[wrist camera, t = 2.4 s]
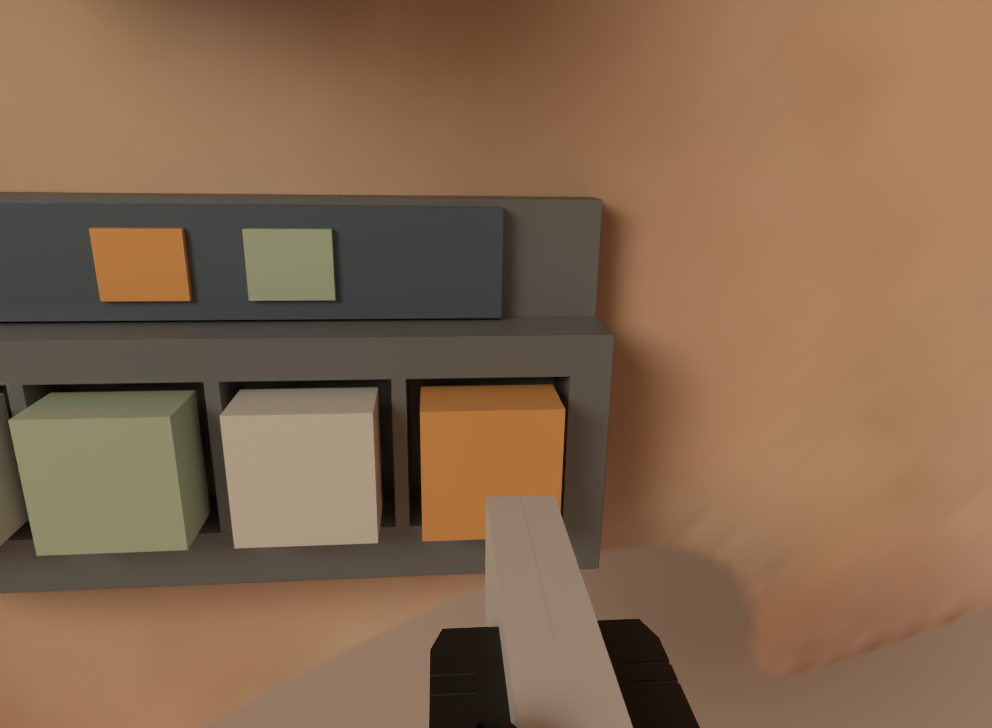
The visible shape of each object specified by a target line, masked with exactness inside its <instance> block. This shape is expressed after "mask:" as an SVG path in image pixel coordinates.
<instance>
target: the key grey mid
mask: <svg viewBox="0 0 992 728" xmlns="http://www.w3.org/2000/svg"><path fill="white" fill-rule="evenodd" d="M220 425H221V434H222V443H223V452H224V461H225V470H226V479H227V488H228V497H229V506H230V515H231V523H232V532H233V541H234V549H235V548H262V547H289V546H316V545H343V544H370V543H378V540H379V532H380V524H381V517H382V509H383V500H382V474H381V448H380V422H379V396H378V387H360V388H299V389H240V390H239V392H238V393H237V394H236V395H235V397H234V398H233V399H232V401H231V402H230V403H229V404H228V406H227V407H226V408H225V410H224V411H223V412H222V413H221V415H220Z"/></svg>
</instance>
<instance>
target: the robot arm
mask: <svg viewBox="0 0 992 728" xmlns="http://www.w3.org/2000/svg"><path fill="white" fill-rule="evenodd" d="M485 611H486V620H487V627H476V628H452V629H442V631H441V632H440V634H439V636H438V638H437V639H436V641H435V643H434V644H433V646H432V648H431V650H430V715H429V716H430V719H429V728H700V727H699V725H698V723H697V721H696V718H695V716H694V714H693V712H692V710H691V708H690V705H689V703H688V701H687V699H686V696H685V694H684V692H683V690H682V688H681V685H680V684H678V680H677V677H676V674H675V672H674V670H673V668H672V666H671V665H670V664H669V659H668V657H667V654H666V652H665V650H664V648H663V646H662V643H661V641H660V639H659V637H657V636H656V635H655V634H654V633H653V632H652V631H651V630H650V629H649V628H648V627H647V626H646V625H645V624H643V622H642V621H641V620H639V619H624V620H602V621H601V620H600V621H597V620H596V617H595V614H594V611H593V608H592V605H591V602H590V599H589V596H588V593H587V590H586V587H585V584H584V581H583V578H582V575H581V572H580V569H579V566H578V563H577V560H576V557H575V554H574V552H573V549H572V546H571V543H570V540H569V537H568V534H567V531H566V528H565V525H564V522H563V519H562V516H561V513H560V510H559V507H558V504H557V501H556V498H555V495H540V496H501V497H486V541H485Z"/></svg>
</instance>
